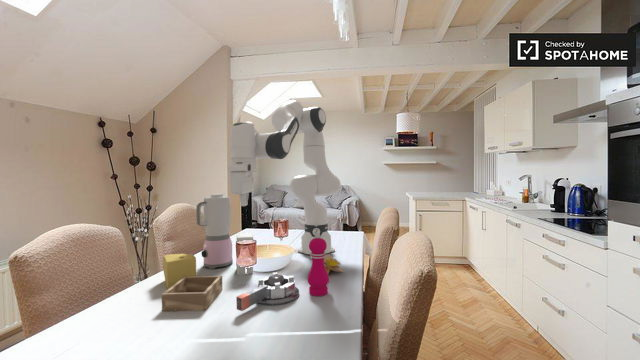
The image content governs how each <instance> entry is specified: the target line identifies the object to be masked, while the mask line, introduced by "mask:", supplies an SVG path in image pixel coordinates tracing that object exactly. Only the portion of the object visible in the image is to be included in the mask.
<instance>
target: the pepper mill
mask: <svg viewBox="0 0 640 360" xmlns="http://www.w3.org/2000/svg"><path fill="white" fill-rule="evenodd" d="M326 248H327V244H326V241H325V240H324V239H322V238H320V234H318V233H317V234H316V235H315V238H314V239H312V240H311V241H310V243H309V249H310V250H311V255H310V258H311V261H312V262H311V268H310V270H309V273H308V275H307V283H308V285H309V287H308V292H309V294H310V295H311V296H312V297H322V296H325V295H327V294H328V293H329V289H328V288H329V287H328V284H329V281H330V278H329V277H330V276H329V274H328V273H327V271H326V269H325V266H324V257H325V255H326V254H325V252H324V251H325V250H326Z"/></svg>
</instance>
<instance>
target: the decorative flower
mask: <svg viewBox="0 0 640 360" xmlns="http://www.w3.org/2000/svg"><path fill="white" fill-rule="evenodd" d="M341 265H342V263H340V261H338V260H337V259H336V258H333V256H332V255H330V254H329V253H327V254H325V257H324V266H325V269H326V271H327V273H328V275H329V274H330V272H331V271H332V272H336V273H337V272H338V273H342V272H343V273H344V272H345V269H344V268H341Z"/></svg>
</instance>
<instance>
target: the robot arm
mask: <svg viewBox="0 0 640 360" xmlns="http://www.w3.org/2000/svg"><path fill="white" fill-rule="evenodd" d="M326 120H327V116H326V113H325V111H324V109H323V108H321V107H320V106H312V107H308V108H304V106H303V105H302V103H301V102H300V101H298V100H296V99H295V100H294V99H291V100H287V101H285V102H284V103H282V104H281V105H279V107H278V108H276V110H274V112H273V114H272V116H271V123H272V127H274V129H275V130H276V131H274V132H267V133H264V132H263V133H260V132H258V131H257V130H256V129H255V124H254V122H251V121H241V122H240V121H239V122H235V123H233V124H232V125H231V129H230V137H229V140H230V141H229V143H230V144H229V145H230V150H231V155H230V163H229V164H228V165H227V171H228V173H229V185H230V191H231V194H232V195H239V196H238V197H239V200H240V206H241V207H246V206H248V205H249V204H248V201H249V195H250V194H249V193H253V192H254V191H255V175H254V173H256V172H257V160H269V159H271V160H272V159H273V160H274V159H276V160H284V159H285V158H286V157H287V156H288V155H289V152H290V151H291V146H292V143H293V141H294V139H295V138H296V136H297V135H298V134H303V142H302V143H303V145H302V146H303V148H302V149H303V163H304V165H305V166H306V167H308V168H309V169H311V170H313V171H314V173H315V174H301V175H297V176H293V177H292V179H291V180H290V183H289V188H290V192H291V193H292V195H293V196H295V197H297V199H298V200H299V201H300V202H301V204H302V206H303V209H304V219H305V220H304V226H303V228H304V230H303V231H304V232H303V234H302V235H301V246H300V247H299V248H298V249H297V252H298V253H301V254H306V255H310V256H311V250H310V249H309V243H310V241H311V240H312V239H314V238H315V235H316V234H317V233H318V234H320V238H322V239H324V240H325V241H326V244H327V248H326V250H325V251H324V252H325V255H327V254H330V253H334V252H335V251H336V248H335V247H333V246H332V235H331V233H330V232H329V231H328V230H329V224H328V211H327V210H328V209H327V208H326V206H325V205H324V204H323V203H320V202H317V201H316V198H315V197H330V196H333V195H337V194H338V193H339V192H340V190H341V186H342V185H341V180H340V178H339V177H338V176H337V175H335V174H334V173H333V172H332V171H331V170H330V168H329V166H328V163H327V160H326V151H325V149H326V148H325V145H326V144H325V139H324V135H323V130H324V128H325V125H326V122H327V121H326Z"/></svg>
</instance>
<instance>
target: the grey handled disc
mask: <svg viewBox="0 0 640 360" xmlns="http://www.w3.org/2000/svg"><path fill="white" fill-rule="evenodd" d="M272 275H279V273H278V272H277V271H276V272H272ZM282 275H283V274H282ZM283 276H284V285H283V286H280V282H279V283H275V286H274V287H271V286H269V279H268V278H269V276H265V277H264V278H258V279H257V280H258V281H257V287H256V288H254V289H252V290H249V291H248V292H244V293H241V294H240V295H238V296H236V298H235V299H236V310H237V311H240V312H243V311H245V310H247V309H249V308H251V307H252V306H254V305H256V304H258V303H257V302H259V301H261V300H263V299H265V298H268V299H269V298H271V299H275V298H284V297H287V296H289V295H291V294H292V293H294V292H295V287H296V281H295V277H294V275H288V276H287V275H283Z"/></svg>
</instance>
